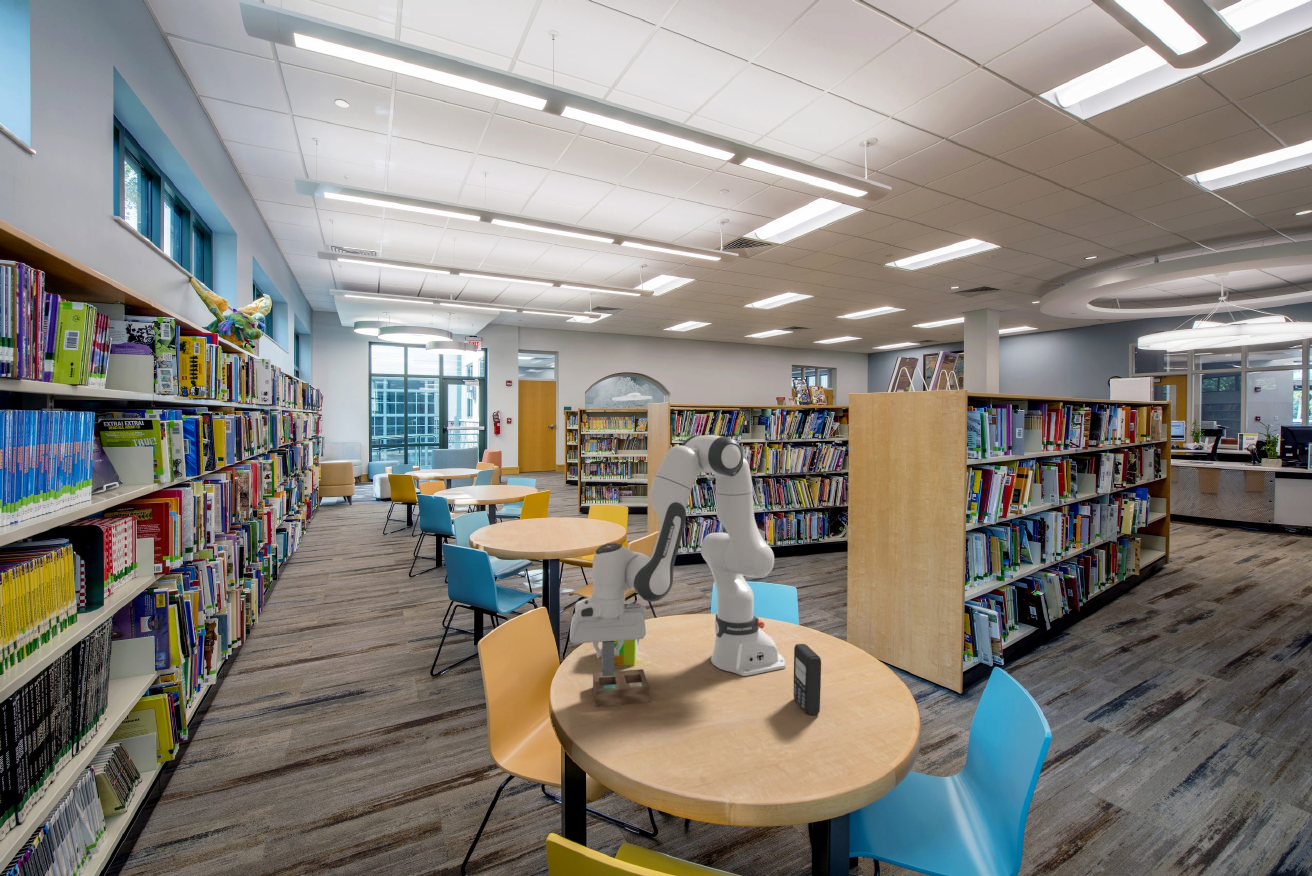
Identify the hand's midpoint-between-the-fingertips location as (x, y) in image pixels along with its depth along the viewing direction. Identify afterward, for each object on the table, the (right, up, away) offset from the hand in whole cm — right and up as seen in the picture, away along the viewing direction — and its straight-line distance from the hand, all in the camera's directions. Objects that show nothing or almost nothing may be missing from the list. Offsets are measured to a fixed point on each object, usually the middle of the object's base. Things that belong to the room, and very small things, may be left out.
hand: (607, 656), depth 143 cm
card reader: (+52, -12, -4) cm, 53 cm away
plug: (0, -5, 0) cm, 5 cm away
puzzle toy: (+2, -10, +23) cm, 26 cm away
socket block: (+3, -11, +1) cm, 11 cm away
